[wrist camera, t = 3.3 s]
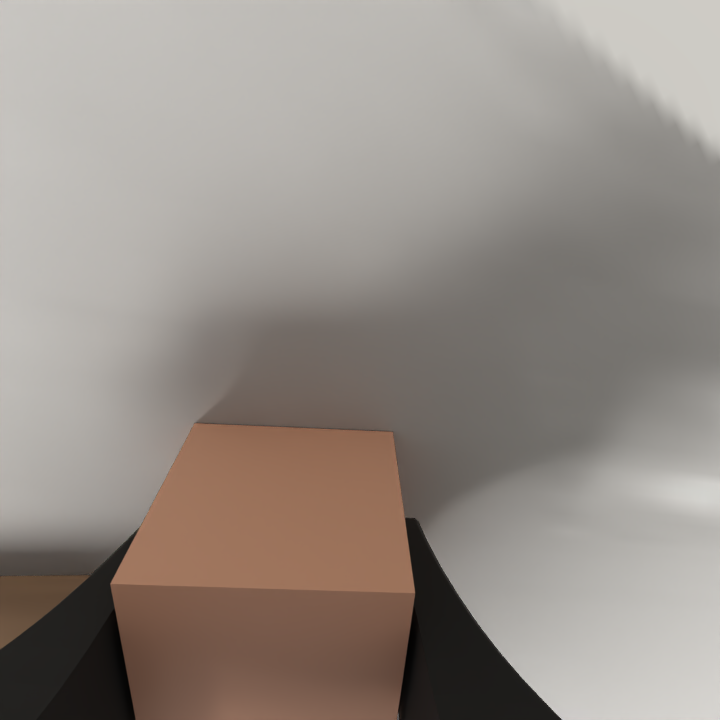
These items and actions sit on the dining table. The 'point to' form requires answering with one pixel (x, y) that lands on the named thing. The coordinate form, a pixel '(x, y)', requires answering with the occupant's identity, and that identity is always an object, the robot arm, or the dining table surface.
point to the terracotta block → (270, 579)
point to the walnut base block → (30, 600)
